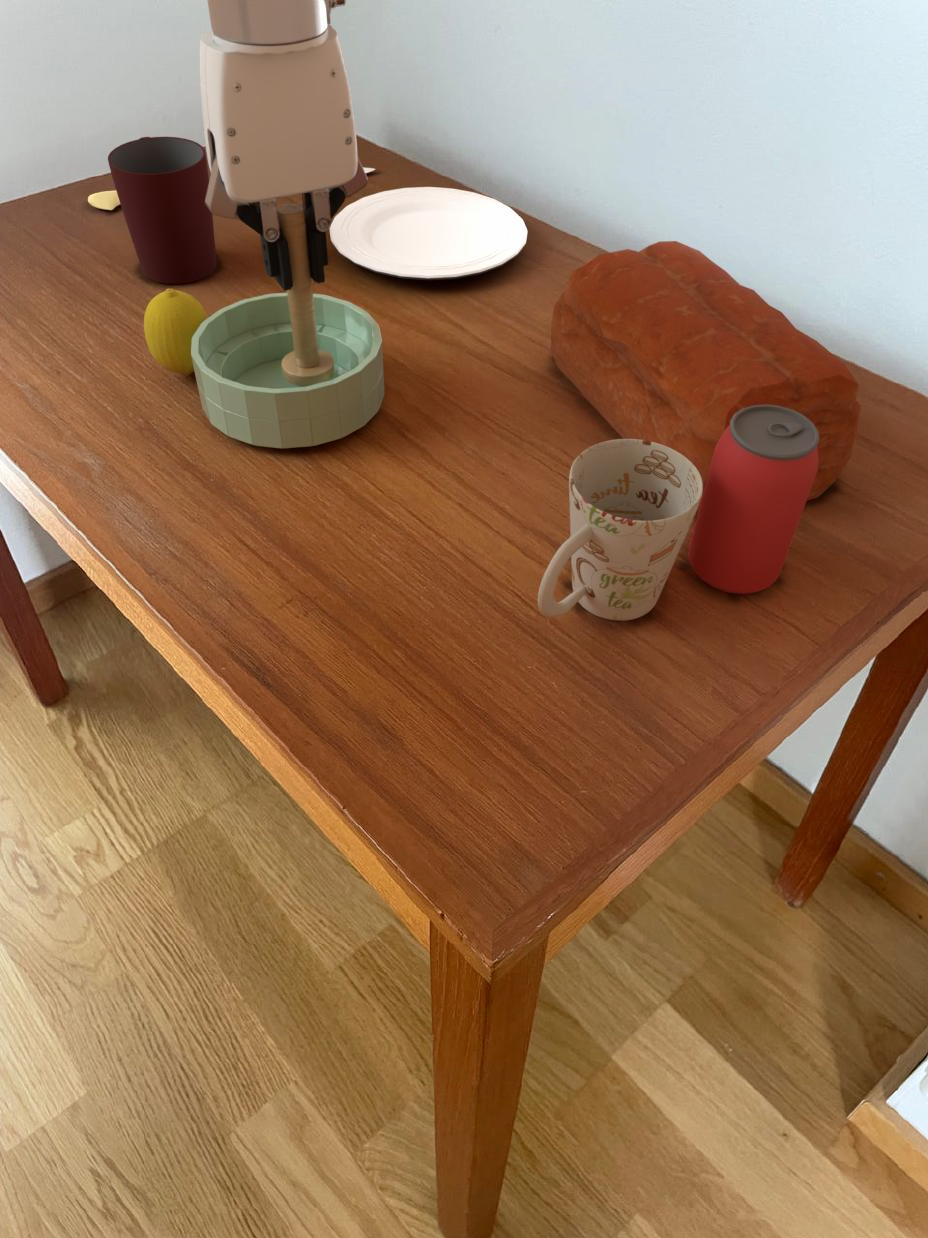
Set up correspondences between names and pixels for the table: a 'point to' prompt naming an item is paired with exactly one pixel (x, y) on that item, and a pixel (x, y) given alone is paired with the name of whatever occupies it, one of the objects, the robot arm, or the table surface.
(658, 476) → the mug
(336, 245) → the plate
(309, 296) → the wooden peg with base
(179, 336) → the lemon
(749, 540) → the beer can
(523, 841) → the table surface
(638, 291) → the bread
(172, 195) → the mug
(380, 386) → the bowl
